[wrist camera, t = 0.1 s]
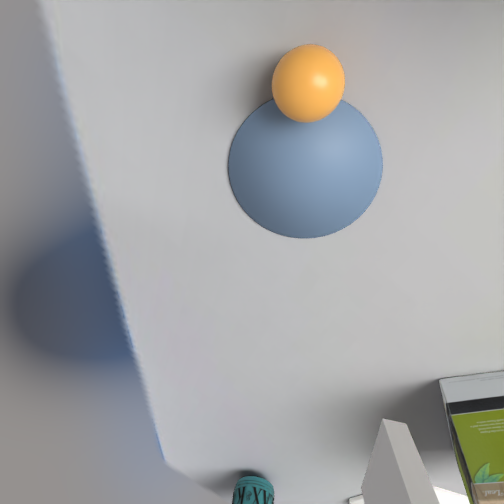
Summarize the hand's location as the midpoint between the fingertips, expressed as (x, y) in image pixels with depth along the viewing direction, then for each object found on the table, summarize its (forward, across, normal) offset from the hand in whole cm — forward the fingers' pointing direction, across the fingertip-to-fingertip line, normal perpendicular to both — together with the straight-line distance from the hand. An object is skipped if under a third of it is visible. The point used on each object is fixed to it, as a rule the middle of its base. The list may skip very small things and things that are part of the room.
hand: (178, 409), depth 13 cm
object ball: (+22, +2, +14) cm, 26 cm away
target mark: (+27, +3, +7) cm, 28 cm away
